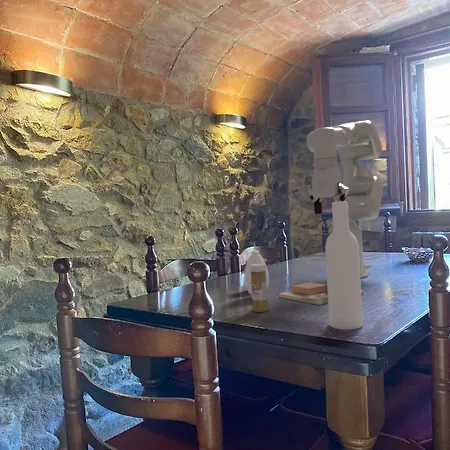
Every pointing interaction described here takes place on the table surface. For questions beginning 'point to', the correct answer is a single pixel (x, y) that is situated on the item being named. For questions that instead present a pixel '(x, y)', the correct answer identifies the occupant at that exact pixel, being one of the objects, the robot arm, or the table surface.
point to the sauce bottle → (253, 259)
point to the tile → (308, 288)
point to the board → (305, 297)
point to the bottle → (343, 273)
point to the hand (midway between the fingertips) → (329, 213)
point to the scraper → (320, 295)
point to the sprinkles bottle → (259, 287)
